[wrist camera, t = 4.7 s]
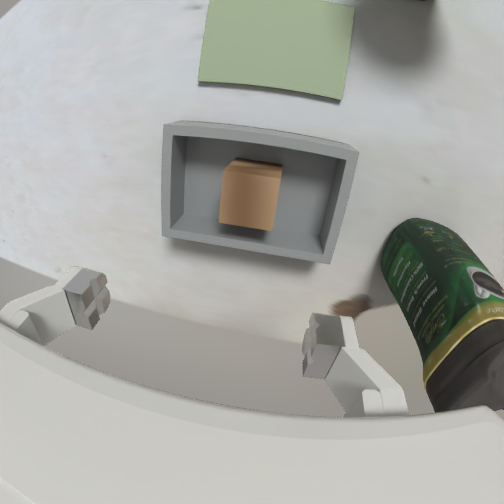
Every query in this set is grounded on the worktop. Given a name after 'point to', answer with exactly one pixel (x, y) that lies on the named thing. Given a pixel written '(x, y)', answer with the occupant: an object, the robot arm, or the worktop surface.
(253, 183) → the walnut block
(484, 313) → the coffee jar
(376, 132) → the worktop surface
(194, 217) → the grey bin
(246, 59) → the olive mat
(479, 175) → the worktop surface
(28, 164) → the worktop surface
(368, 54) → the worktop surface
